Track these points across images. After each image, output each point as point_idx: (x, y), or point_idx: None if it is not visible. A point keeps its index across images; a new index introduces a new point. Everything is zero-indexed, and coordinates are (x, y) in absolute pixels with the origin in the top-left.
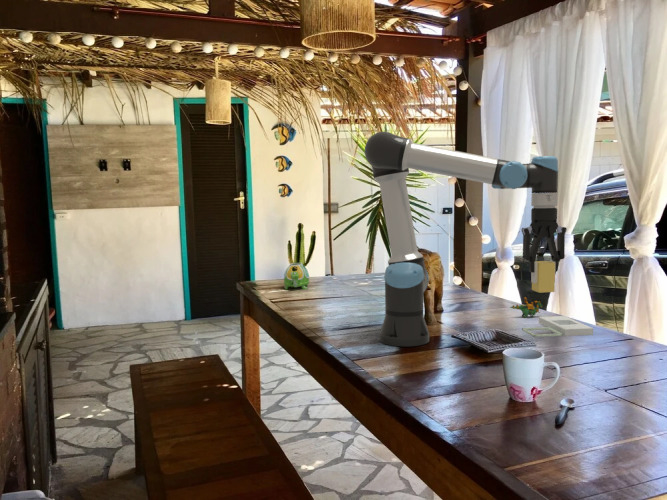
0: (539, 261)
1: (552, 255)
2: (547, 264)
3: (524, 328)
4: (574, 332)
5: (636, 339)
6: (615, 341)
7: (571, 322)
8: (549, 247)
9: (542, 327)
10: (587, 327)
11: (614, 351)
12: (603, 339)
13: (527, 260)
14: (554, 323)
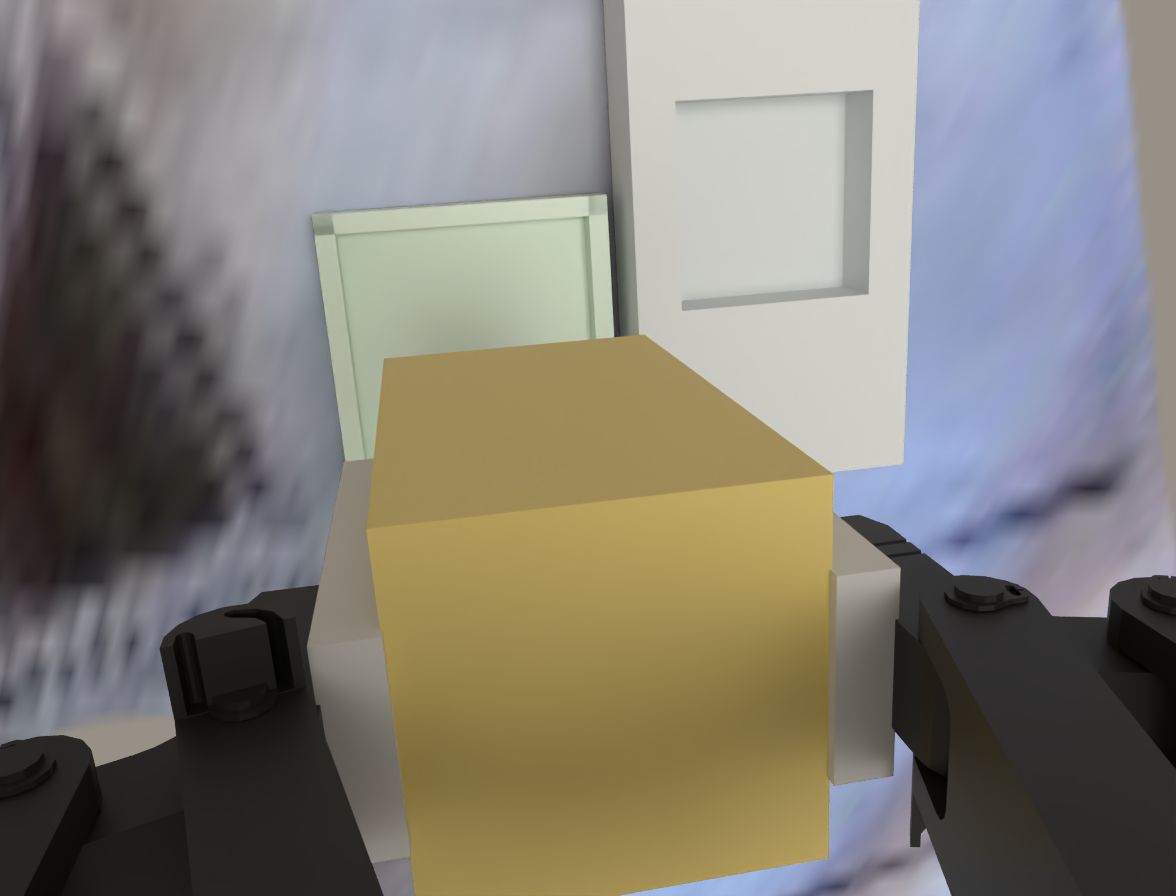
0: (578, 547)
1: (949, 774)
2: (631, 869)
3: (334, 229)
4: None
5: (1138, 495)
6: (965, 546)
7: (864, 139)
8: (1051, 892)
9: (536, 200)
10: (872, 430)
11: None
12: (916, 486)
13: (137, 775)
14: (653, 244)
